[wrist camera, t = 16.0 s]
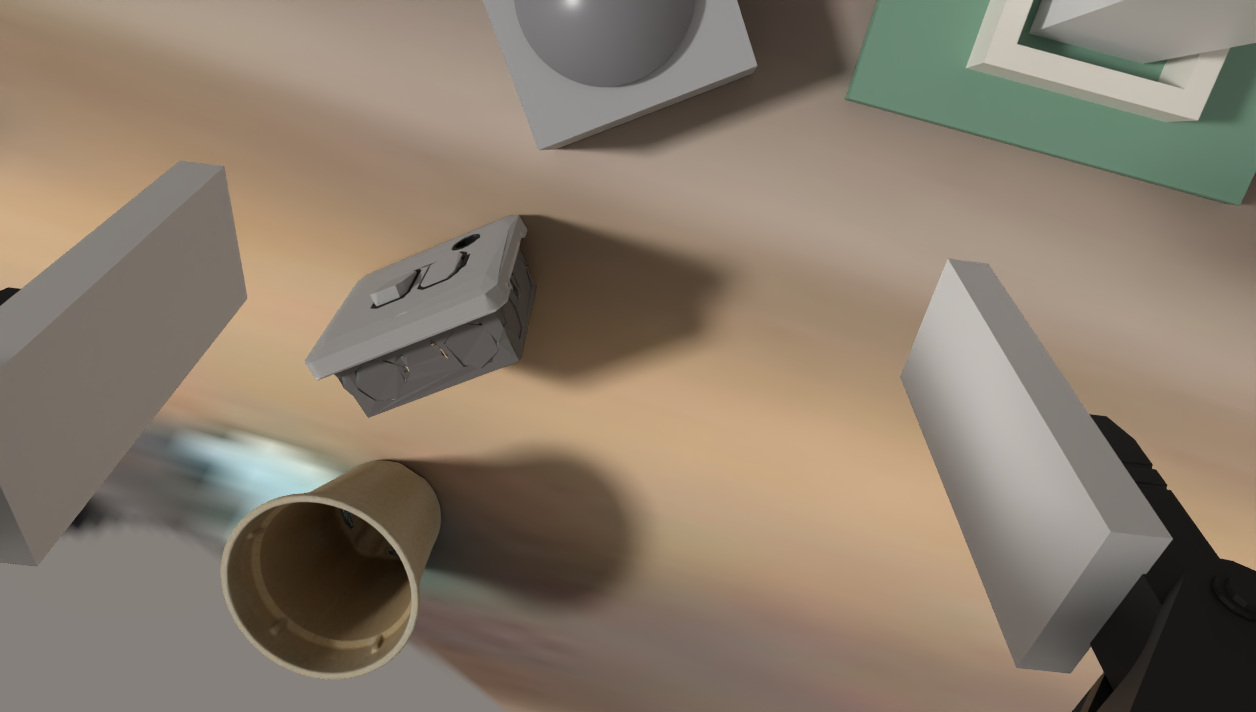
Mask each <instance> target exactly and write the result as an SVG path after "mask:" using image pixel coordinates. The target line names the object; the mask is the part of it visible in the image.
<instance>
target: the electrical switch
mask: <svg viewBox="0 0 1256 712" xmlns="http://www.w3.org/2000/svg"><path fill="white" fill-rule="evenodd" d="M526 233H527V228H526V227H525V225H524V223H523V222H522V220H521V218H520V216H519V215H510V216H507V217H505V218H502V219H500V220H498V221H495V222H493V223H490V224H488V225H485V226H483V227H481V228H478V229H476V230H473V231H471V232H469V233H466V234H464V235H461V236H459V237H456V238H454V239H452V240H449V241H447V242H444V243H442V244H439V245H437V246H435V247H432V248H430V249H427V250H425V251H422V252H420V253H418V254H415V255H413V256H410V257H408V258H406V259H403V260H401V261H398V262H396V263H393V264H391V265H389V266H386V267H384V268H381V269H379V270H376V271H374V272H372V273H370V274H368V275H366V276H365V277H363V278H362V279H360V280H359V281H358V282H357V283H356V285H355V286H354V288H353V289H352V290H351V292H350V293H349V295H348V296H347V298H346V299H345V301H344V302H343V304H342V305H341V307H340V308H339V310H338V311H337V313H336V314H335V316H334V317H333V319H332V320H331V322H330V323H329V325H328V326H327V328H326V329H325V331H324V332H323V334H322V335H321V337H320V338H319V340H318V341H317V343H316V344H315V346H314V347H313V349H312V350H311V352H310V353H309V355H308V356H307V358H306V359H305V364H306V365H307V367H308V368H309V370H310V371H311V373H312V374H313V376H314V377H315V379H316V380H320V379H322V378H325V377H328V376H330V375H333V374H334V375H336V376H337V377H338V379H339V380H340V382H341V384H342V386H343V387H344V389H345V390H347V391H348V392H349V393H350V394H351V395H353V396H354V398H355V399H356V400H357V402H358V403H359V405H360V406H361V408H362V409H363V411H364V412H365V414H366V415H367V416H368V418H369V417H372V416H374V415H377V414H380V413H382V412H385V411H388V410H390V409H393V408H396V407H398V406H401V405H404V404H406V403H409V402H412V401H414V400H417V399H420V398H422V397H425V396H428V395H430V394H433V393H436V392H438V391H441V390H444V389H446V388H449V387H452V386H454V385H457V384H460V383H462V382H465V381H468V380H470V379H473V378H476V377H478V376H481V375H484V374H486V373H489V372H492V371H494V370H497V369H500V368H502V367H505V366H508V365H510V364H513V363H516V362H518V361H519V358H518V356H517V354H516V352H517V353H518V355H519V357H520V358H521V357H522V353H523V348H524V343H525V338H526V334H527V329H528V324H529V319H530V315H531V310H532V305H533V300H534V296H535V291H536V284H535V282H534V280H533V278H532V276H531V274H530V272H529V271H528V269H527V266H528V265H527V263H526V261H525V258H524V256H523V254H522V253H521V251H520V249H519V246H520V241H521V238H525V235H526ZM515 293H516V295H515ZM510 342H511V343H510ZM432 343H436V344H435V345H433V346H431V344H432ZM511 344H512V345H513V347H514V349H515V350H516V352H515V350H514V349H513V347H512V345H511ZM440 348H441V349H442V350H443V352H444V353H445V354H446V356H447V357H448V359H447V358H446V357H445V355H444V354H443V353H442V351H441V350H440ZM402 356H404V357H402ZM401 357H402V358H401ZM492 360H493V362H491V361H492ZM393 364H394V365H393ZM405 366H407V367H408V368H409V371H410V372H409V371H408V370H407V368H406V367H405ZM405 380H406V381H405ZM390 399H396V400H390Z"/></svg>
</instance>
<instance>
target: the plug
mask: <svg viewBox="0 0 1256 712" xmlns="http://www.w3.org/2000/svg"><path fill="white" fill-rule="evenodd" d="M1029 34H1033V35H1036V36H1040V37H1044V38H1048V39H1051V40H1055V41H1059V42H1063V43H1066V44H1070V45H1074V46H1077V47H1081V48H1085V49H1089V50H1092V51H1096V52H1100V53H1103V54H1107V55H1111V56H1115V57H1118V58H1122V59H1126V60H1129V61H1133V62H1137V63H1141V64H1144V63H1150V62H1155V61H1161V60H1166V59H1171V58H1177V57H1182V56H1188V55H1193V54H1198V53H1204V52H1209V51H1215V50H1220V49H1225V48H1231V47H1236V46H1241V45H1247V44H1252V43H1256V0H1041V3H1040V5H1039V8H1038V11H1037V13H1036V16H1035V19H1034V21H1033V24H1032V27H1031V29H1030V32H1029Z"/></svg>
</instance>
